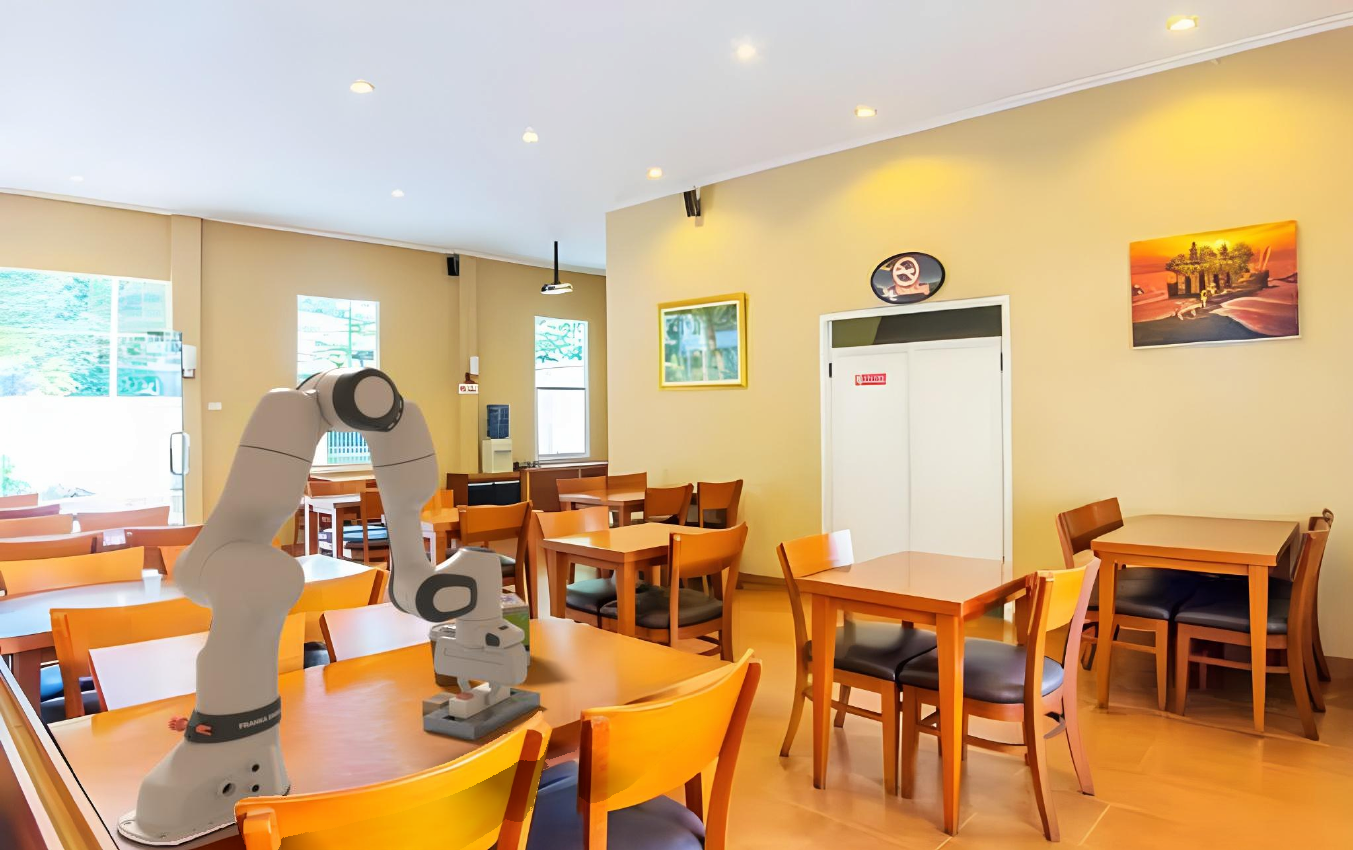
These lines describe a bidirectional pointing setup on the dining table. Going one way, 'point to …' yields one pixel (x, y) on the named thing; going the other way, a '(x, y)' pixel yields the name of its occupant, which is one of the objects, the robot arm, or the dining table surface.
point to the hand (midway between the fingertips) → (479, 702)
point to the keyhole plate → (482, 716)
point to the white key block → (474, 701)
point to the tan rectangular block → (436, 702)
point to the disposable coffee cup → (432, 635)
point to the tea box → (517, 617)
